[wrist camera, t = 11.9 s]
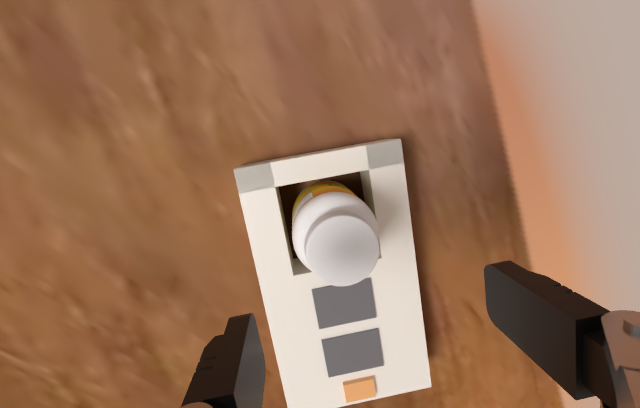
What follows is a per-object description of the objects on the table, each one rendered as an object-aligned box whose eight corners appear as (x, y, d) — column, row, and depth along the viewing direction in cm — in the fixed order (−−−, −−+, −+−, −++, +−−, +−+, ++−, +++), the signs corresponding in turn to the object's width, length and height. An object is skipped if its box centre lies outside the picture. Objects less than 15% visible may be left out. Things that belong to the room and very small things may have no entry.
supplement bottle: (370, 202, 27) (413, 236, 18) (333, 255, 28) (355, 316, 18) (316, 166, 26) (329, 181, 17) (279, 222, 27) (272, 267, 17)
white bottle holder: (241, 165, 26) (232, 169, 22) (386, 138, 26) (402, 138, 22) (290, 385, 30) (290, 422, 26) (415, 358, 30) (433, 390, 26)
